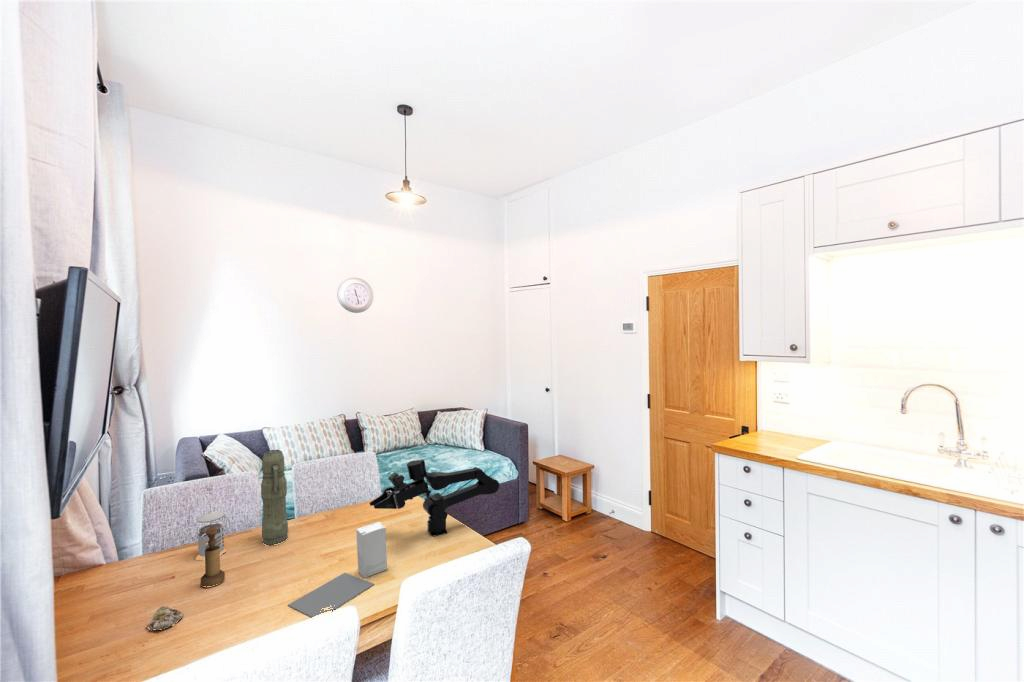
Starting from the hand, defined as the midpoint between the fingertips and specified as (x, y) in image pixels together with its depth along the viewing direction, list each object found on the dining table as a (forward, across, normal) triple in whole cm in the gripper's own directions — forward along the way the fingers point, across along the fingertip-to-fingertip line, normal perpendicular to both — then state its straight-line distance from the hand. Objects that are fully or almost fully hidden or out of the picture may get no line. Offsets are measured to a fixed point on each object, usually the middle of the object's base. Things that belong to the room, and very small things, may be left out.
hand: (372, 505), depth 162 cm
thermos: (+34, -29, +4) cm, 45 cm away
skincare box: (+7, +13, +18) cm, 23 cm away
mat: (+20, +21, +17) cm, 33 cm away
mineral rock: (+62, +10, +8) cm, 63 cm away
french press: (+53, -30, 0) cm, 61 cm away
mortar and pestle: (+52, -6, +6) cm, 52 cm away
